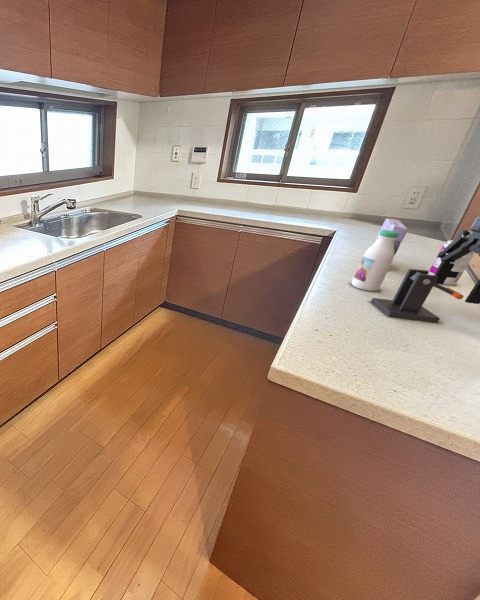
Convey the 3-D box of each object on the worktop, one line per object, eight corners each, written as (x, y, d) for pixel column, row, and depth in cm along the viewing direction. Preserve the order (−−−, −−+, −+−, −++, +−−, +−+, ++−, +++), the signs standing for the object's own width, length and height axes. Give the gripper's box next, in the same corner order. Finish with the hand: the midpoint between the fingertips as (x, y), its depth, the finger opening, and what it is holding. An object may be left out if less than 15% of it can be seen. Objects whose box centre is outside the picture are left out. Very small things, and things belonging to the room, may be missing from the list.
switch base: (415, 307, 101) (436, 268, 95) (437, 322, 92) (462, 281, 86) (370, 301, 103) (388, 264, 98) (388, 316, 95) (409, 276, 89)
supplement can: (424, 280, 121) (445, 241, 114) (426, 275, 126) (446, 238, 119) (454, 287, 116) (479, 247, 109) (455, 282, 121) (479, 243, 114)
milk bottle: (377, 286, 115) (403, 230, 106) (379, 293, 109) (408, 235, 100) (350, 281, 119) (373, 227, 110) (351, 287, 113) (376, 231, 104)
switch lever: (445, 294, 95) (453, 287, 94) (458, 301, 91) (466, 294, 89) (406, 276, 96) (413, 269, 94) (417, 282, 91) (425, 275, 90)
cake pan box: (388, 272, 128) (409, 228, 120) (372, 269, 131) (392, 226, 123) (380, 259, 143) (399, 219, 135) (366, 257, 145) (383, 217, 137)
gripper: (446, 207, 94) (410, 275, 104) (526, 227, 73) (471, 310, 82) (478, 210, 93) (438, 278, 102) (569, 231, 71) (508, 315, 81)
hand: (452, 292), depth 92 cm, fingers open, 13 cm apart
